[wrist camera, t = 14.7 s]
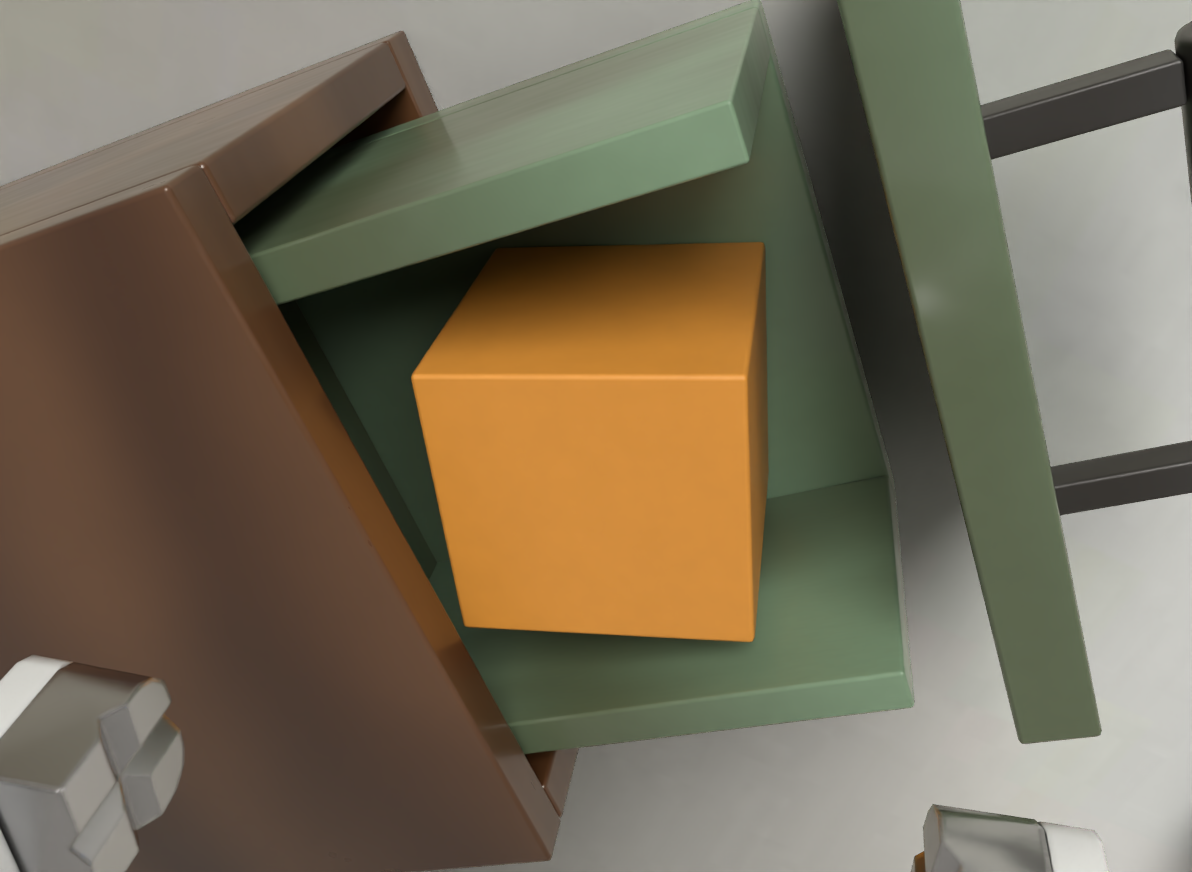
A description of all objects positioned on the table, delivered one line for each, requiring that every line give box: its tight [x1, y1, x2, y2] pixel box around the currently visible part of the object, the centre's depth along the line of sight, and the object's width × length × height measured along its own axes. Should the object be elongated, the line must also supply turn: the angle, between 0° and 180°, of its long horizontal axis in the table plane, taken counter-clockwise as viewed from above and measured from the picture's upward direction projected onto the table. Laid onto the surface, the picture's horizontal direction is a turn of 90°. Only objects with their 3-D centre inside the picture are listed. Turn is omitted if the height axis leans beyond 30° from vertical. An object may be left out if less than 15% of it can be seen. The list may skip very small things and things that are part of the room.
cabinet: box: [0, 31, 579, 872], centre depth 22 cm, size 15×13×9 cm
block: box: [411, 242, 769, 642], centre depth 19 cm, size 5×5×5 cm
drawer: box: [233, 0, 1192, 754], centre depth 18 cm, size 18×12×7 cm, turn 111°
